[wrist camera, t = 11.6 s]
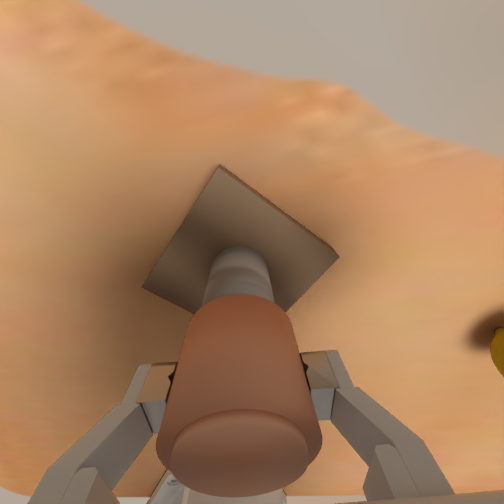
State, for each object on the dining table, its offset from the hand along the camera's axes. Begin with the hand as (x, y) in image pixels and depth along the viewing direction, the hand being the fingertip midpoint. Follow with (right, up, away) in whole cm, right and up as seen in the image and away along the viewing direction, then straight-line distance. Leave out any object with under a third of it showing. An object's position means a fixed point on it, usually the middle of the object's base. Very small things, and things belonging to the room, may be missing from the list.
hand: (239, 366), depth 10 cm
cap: (0, +1, +1) cm, 2 cm away
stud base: (0, +4, +8) cm, 9 cm away
